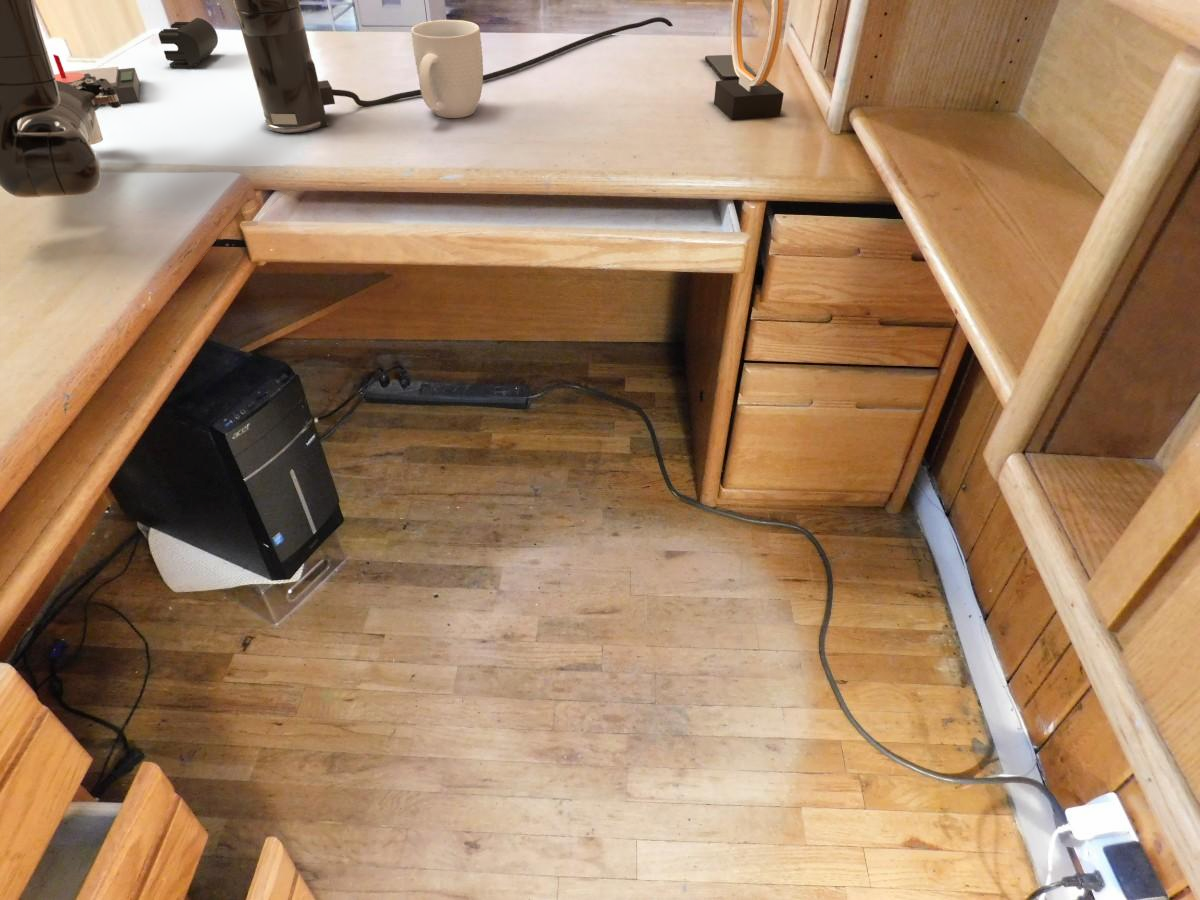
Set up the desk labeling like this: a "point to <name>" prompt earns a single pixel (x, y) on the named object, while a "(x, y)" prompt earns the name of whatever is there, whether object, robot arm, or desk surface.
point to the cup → (69, 79)
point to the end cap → (189, 42)
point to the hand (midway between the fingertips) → (68, 83)
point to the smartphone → (725, 66)
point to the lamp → (751, 92)
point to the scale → (118, 82)
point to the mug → (449, 66)
